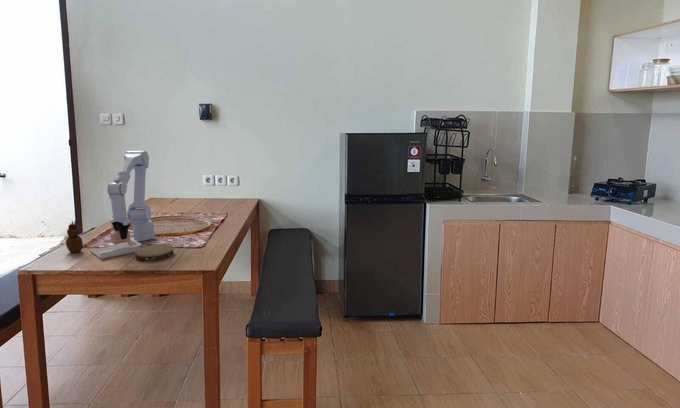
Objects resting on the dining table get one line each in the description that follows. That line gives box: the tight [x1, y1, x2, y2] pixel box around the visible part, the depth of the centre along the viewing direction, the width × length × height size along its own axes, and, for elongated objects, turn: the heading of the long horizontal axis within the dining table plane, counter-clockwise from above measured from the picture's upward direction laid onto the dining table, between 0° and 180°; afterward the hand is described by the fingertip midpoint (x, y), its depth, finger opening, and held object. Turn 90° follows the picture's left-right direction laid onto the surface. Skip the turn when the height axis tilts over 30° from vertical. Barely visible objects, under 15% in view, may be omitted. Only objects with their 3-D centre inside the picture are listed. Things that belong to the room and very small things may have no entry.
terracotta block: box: [110, 229, 131, 246], centre depth 219 cm, size 4×7×5 cm, turn 131°
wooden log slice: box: [134, 244, 174, 263], centre depth 213 cm, size 16×16×3 cm
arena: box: [89, 237, 143, 260], centre depth 220 cm, size 18×16×3 cm
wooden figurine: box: [65, 219, 84, 254], centre depth 218 cm, size 7×6×15 cm
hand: (122, 237), depth 219 cm, fingers closed on terracotta block, 5 cm apart
